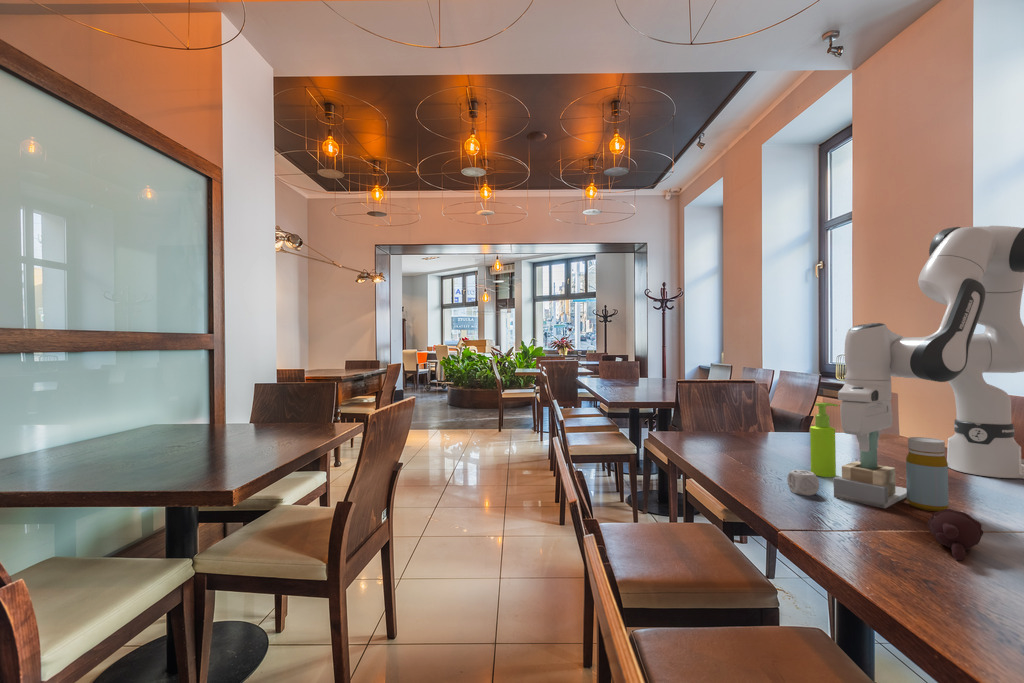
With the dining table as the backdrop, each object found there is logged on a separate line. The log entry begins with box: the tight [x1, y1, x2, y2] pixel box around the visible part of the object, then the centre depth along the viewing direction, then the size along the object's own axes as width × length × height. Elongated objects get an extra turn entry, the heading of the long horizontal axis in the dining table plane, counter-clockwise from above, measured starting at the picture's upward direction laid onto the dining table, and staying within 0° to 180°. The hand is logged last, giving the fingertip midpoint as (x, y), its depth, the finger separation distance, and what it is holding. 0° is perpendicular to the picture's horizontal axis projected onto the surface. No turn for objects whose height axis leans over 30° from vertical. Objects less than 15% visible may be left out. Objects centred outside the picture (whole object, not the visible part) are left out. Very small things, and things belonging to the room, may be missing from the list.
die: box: [786, 469, 820, 497], centre depth 117 cm, size 5×5×5 cm
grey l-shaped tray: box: [833, 476, 907, 509], centre depth 114 cm, size 18×10×4 cm, turn 124°
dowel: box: [859, 431, 878, 470], centre depth 112 cm, size 3×3×9 cm
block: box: [841, 460, 896, 497], centre depth 112 cm, size 8×8×6 cm
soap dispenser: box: [809, 402, 839, 478], centre depth 132 cm, size 6×7×20 cm
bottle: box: [905, 436, 949, 512], centre depth 106 cm, size 7×7×15 cm
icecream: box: [926, 508, 984, 561], centre depth 85 cm, size 7×7×15 cm
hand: (868, 449), depth 112 cm, fingers closed on dowel, 3 cm apart
